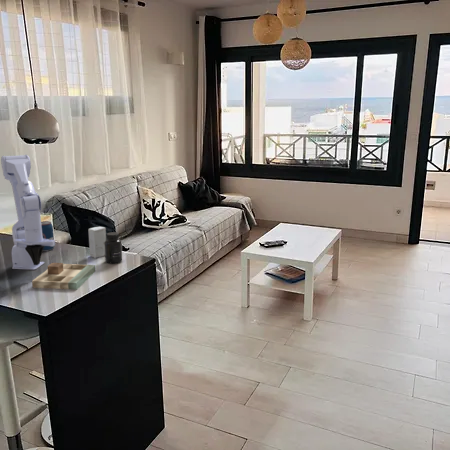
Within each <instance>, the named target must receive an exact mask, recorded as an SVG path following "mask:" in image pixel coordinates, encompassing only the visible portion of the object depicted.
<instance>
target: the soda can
mask: <svg viewBox="0 0 450 450" xmlns="http://www.w3.org/2000/svg"><path fill="white" fill-rule="evenodd" d="M41 227H42V236H43V239H49V240H55V235H54V234H55V233H54V225H53V223H52V221H47V220H46V221H44V220H43V221H41ZM54 248H55V246H53V247H51V246H45V247H44V249H43V251H42V252H45V251H46V252H47V251H52V250H53V249H54Z"/></svg>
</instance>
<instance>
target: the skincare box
mask: <svg viewBox="0 0 450 450" xmlns="http://www.w3.org/2000/svg"><path fill="white" fill-rule="evenodd" d="M106 230H107V229H106V227H104V226H100V225H99V226H94V227H90V228H88V246H89V256H90V257H91V258H94V259H97V258H101V257H105V245H104V243H105V241H106V240H107V231H106Z"/></svg>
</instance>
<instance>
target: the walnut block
mask: <svg viewBox="0 0 450 450" xmlns="http://www.w3.org/2000/svg"><path fill="white" fill-rule="evenodd" d="M63 264H64V263H63V262H51V263H50V264H49V265H47V269H48V274H58V275H59V274H60V273H61V272H62V271H64V270H63Z"/></svg>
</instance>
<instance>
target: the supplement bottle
mask: <svg viewBox="0 0 450 450" xmlns="http://www.w3.org/2000/svg"><path fill="white" fill-rule="evenodd" d="M122 243H123V242H122V240H121V239H120V233H119V232H115V231H112V232H108V233H107V232H106V241H105V243H104V245H105V255H104V261H105V263H106V264H108V265H117V264H120V263H122V262H123V245H122Z"/></svg>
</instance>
